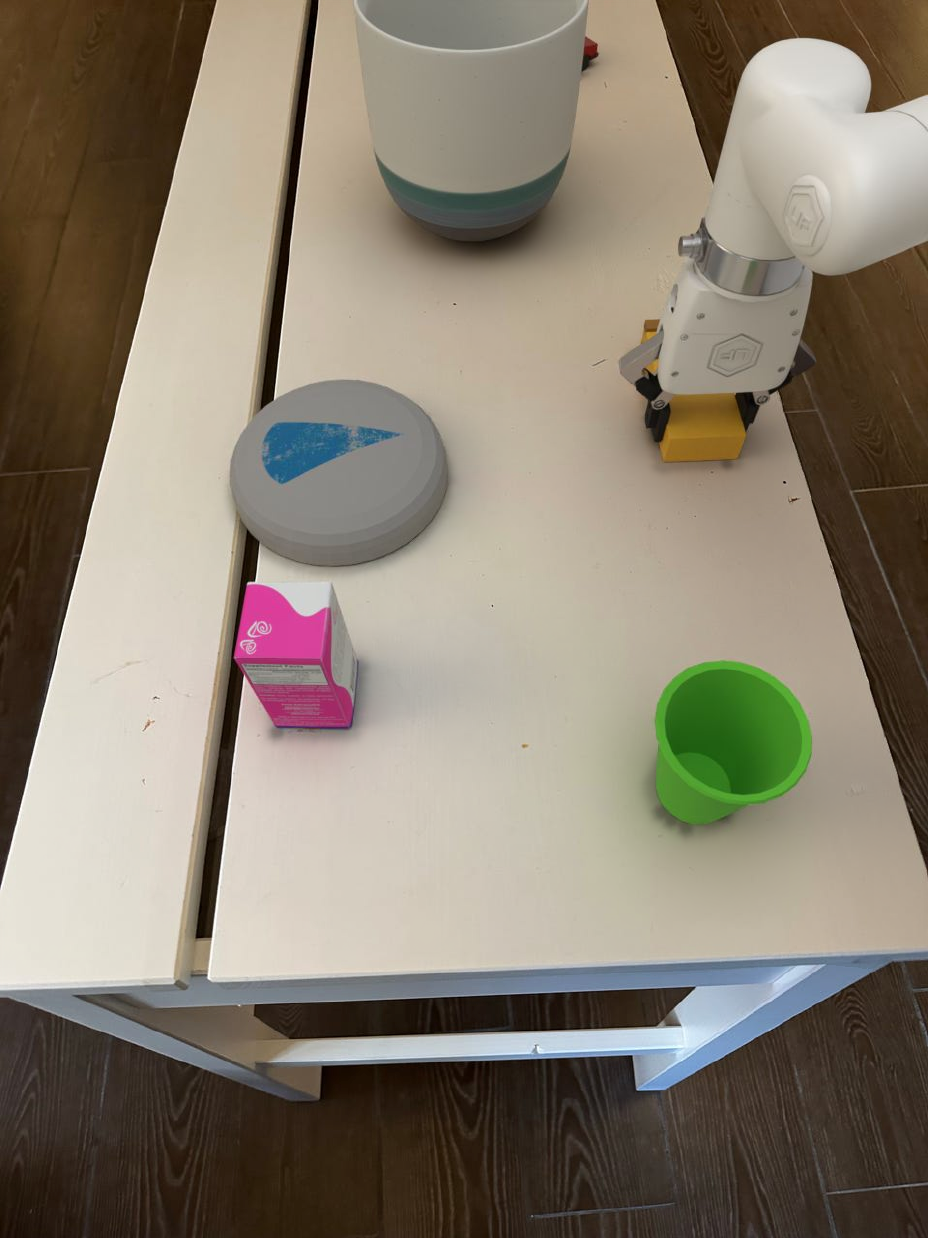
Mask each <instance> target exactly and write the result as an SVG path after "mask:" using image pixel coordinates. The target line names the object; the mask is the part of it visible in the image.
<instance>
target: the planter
mask: <svg viewBox="0 0 928 1238" xmlns="http://www.w3.org/2000/svg"><path fill="white" fill-rule="evenodd" d="M352 4H353V14H354V21H355V23H354V24H355V30H356V38H357V47H358V57H359V63H360V71H361V77H362V85H363V92H364V101H365V107H366V113H367V120H368V126H369V132H370V137H371V145H372V149H373V153H374V157H375V160H376V164H377V167H378V170H379V173H380V175H381V178H382V180H383V183H384V185H385V187H386V189H387V191H388V194H389V195H390V196H391V198H392V200H393V201H394V203H395V204H396V205H397V207H398V208H399V209H400V210H401V211H402V212H403V213H404V214H405V215H406V216H407V217H408V218H410V219H411V221H413V222H414V223H416V224H417V225H419V226H420V227H422V228H423V229H425V230H427V231H429V232H430V233H433V234H435V235H438V236H440V237H443V238H446V239H450V240H455V241H461V242H482V241H489V240H493V239H497V238H500V237H503V236H506V235H508V234H511V233H513V232H514V231H516V230H519V229H520V228H521V227H523V226H525V225H526V224H528V222H530V221H532V220H533V219H534V218H535V217H536V216H537V215H539V214H540V212H542V210H544V208H545V207H546V206H547V205H548V203H549V202H550V201H551V200H552V198H553V196H554V194H555V193H556V190H557V189H558V187H559V185H560V182H561V180H562V178H563V175H564V172H565V170H566V168H567V165H568V164H567V163H568V160H569V156H570V152H571V149H572V148H571V147H572V143H573V138H574V137H573V136H574V130H575V123H576V117H577V109H578V102H579V94H580V86H581V79H582V78H581V77H582V61H583V52H584V43H585V36H586V33H587V32H586V31H587V22H588V13H589V4H590V0H352Z"/></svg>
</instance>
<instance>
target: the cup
mask: <svg viewBox="0 0 928 1238" xmlns="http://www.w3.org/2000/svg"><path fill="white" fill-rule="evenodd" d="M655 709H656V710H655V716H654V727H655V737H656V740H657V743H658V745H657V757H656V770H655V771H656V773H655V789H656V794H657V796H658V799H659V801H660V803H661V804H662V806H663V808H664V809H665V810H666V811H667V812H668V813H669V814H670V815H671V816H672V817H674V818H676V819H677V820H679V821H681V822H683V823H687V824H690V825H697V826H701V825H709V824H711V823H715V822H717V821H718V820H720V819H722V818H725V817H727V816H729V815H731V814H733V813H735V812H737V811H740V810H741V809H742V810H743V809H744V808H746V807H749V806H750V805H758V804H759V805H760V804H766V803H768V802H770V801H773V800H776V799H779V798H781V797H783V796H784V795H785V794H786V793H788V792H790V791H791V790H792V789H793V788H795V787H796V786H797V784H798V783H799V782H800V780H801V779H802V778H803V777H804V775H805V774H806V772H807V769H808V766H809V763H810V760H811V758H812V751H813V749H812V748H813V735H812V731H811V725H810V721H809V719H808V717H807V714H806V713H805V710H804V707H803V706H802V704H801V702H800V701H799V700H798V698H797V697H796V696H795V694H793V692H792V691H791V689H790V688H788V687H787V685H785V684H784V683H783V682H781V680H779V679H778V678H777V677H776V676H774V675H772V674H771V673H768V672H767V671H765V670H763V669H761V668H759V667H757V666H755V665H751V664H748V663H745V662H741V661H733V660H723V659H722V660H713V661H703V662H701V663H698V664H695V665H693V666H690V667H688V668H686V669H684V670H683V671H681V672H680V673H679V674H677V675H675V676H674V677H673V678H672V679H671V680H670V682H669V683H668V684H667V685H666V686H665V687H664V689H663V690H662V693H661V695H660V697H659V699H658V701H657V704H656V708H655Z"/></svg>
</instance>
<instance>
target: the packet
mask: <svg viewBox="0 0 928 1238" xmlns="http://www.w3.org/2000/svg"><path fill="white" fill-rule="evenodd" d="M659 322H660V318H657V319H656V318H655V319H645V320H644V322H643V331H642V335H641V340H640V344H639V345H641V344H642V343H644V342H645V341H647V340H648V339H650V338H651V337H653V336H654V335H656V332H657V328H658V325H659ZM658 361H659V359H657V360H656V361H654V362H653V363H651V364H649V365H648V366H646V367H645V368H646V369H647V370H648V371H650V372H651V373H652V374H653V373H654V371H655V370H656V369H657V368H658ZM735 394H736V393H718V394H689V395H679V394H676V395H675V396H674V397H673V398H672V399H671V400H670V402H669V404H670V408H671V413H670V417H669V421H668V424H667V425H666V429H665V433H664V436H663V440H662V441H661V442H658V443H659V450H660V453H661V459H662V463H677V462H678V463H679V462H698V461H700V462H701V461H718V460H719V461H721V460H738V458H739V456H740V453H741V450H742V448H743V445H744V443H745V440H746V438H747V432H745V428H744V425H743V421H742V419H741V416H740V412H739V409H738V405H737V402H736V398H735Z"/></svg>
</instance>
